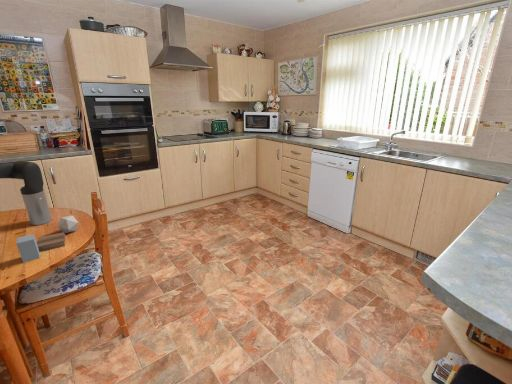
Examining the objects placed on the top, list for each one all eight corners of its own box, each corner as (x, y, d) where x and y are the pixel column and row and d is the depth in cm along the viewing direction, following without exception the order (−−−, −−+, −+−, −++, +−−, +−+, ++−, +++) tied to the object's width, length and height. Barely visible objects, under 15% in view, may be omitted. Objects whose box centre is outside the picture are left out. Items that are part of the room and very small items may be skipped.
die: (80, 226, 143) (66, 213, 140) (84, 223, 137) (69, 210, 134) (67, 238, 138) (51, 224, 135) (70, 235, 132) (54, 221, 129)
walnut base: (39, 243, 127) (38, 237, 126) (65, 237, 132) (64, 232, 131) (37, 253, 119) (36, 247, 118) (65, 246, 124) (63, 240, 123)
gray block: (23, 256, 116) (17, 238, 113) (39, 252, 119) (33, 234, 116) (23, 262, 112) (16, 243, 109) (39, 257, 115) (33, 239, 112)
